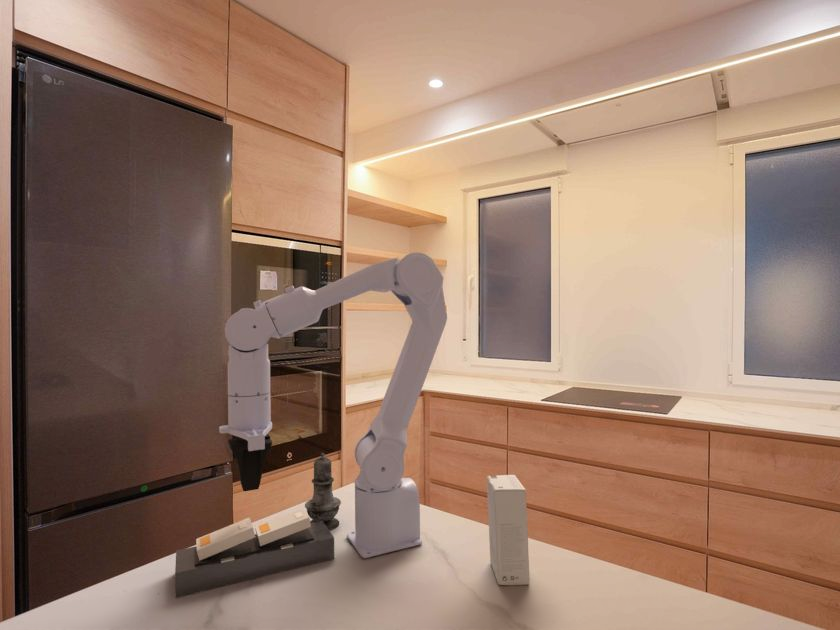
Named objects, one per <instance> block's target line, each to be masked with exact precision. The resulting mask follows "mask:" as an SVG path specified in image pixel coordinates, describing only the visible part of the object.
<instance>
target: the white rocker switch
mask: <svg viewBox="0 0 840 630" xmlns="http://www.w3.org/2000/svg"><path fill="white" fill-rule="evenodd" d="M255 534H256V533H255V530H254V526H253V524H252V521H251V517H247V518H244V519H242V520H239V521H237V522H235V523H232V524H230V525H227V526H225V527H222V528H220V529H217V530H214V531H213V532H210V533H208V534H205V535H203V536H200V537H198V538H196V539H195V541H196V542H195V543H196V546H197V553H198V557H199V561H200V560H203V559H205V558H207V557H210V556H212V555H214V554H217V553H219V552H221V551H224V550H226V549H228V548H231V547H233V546H236V545H238V544H240V543H243V542H245V541H247V540H250V539H252V538H254V537H255Z"/></svg>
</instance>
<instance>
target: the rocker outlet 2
mask: <svg viewBox="0 0 840 630" xmlns="http://www.w3.org/2000/svg"><path fill="white" fill-rule="evenodd" d="M310 521H311V518H310V517H309V515H308V513H307V510H305V507H304V508H303V507H302V508H300V509H298V510H294V511H292V512H289V513H286V514H284V515H280V516H279V517H276V518H273V519H270V520H267V521H265V522H261V523H259V524H256V525H254V529H255V530H254V531H255V534H256V535H257V538H258V541H259V544H260V546H262V545H265V544H268V543H270V542H273V541H275V540H278V539H281V538H283V537H286V536H288V535H291V534H293V533H296V532H299V531H301V530H304V529H306V528H309V527H311V524H310Z"/></svg>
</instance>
